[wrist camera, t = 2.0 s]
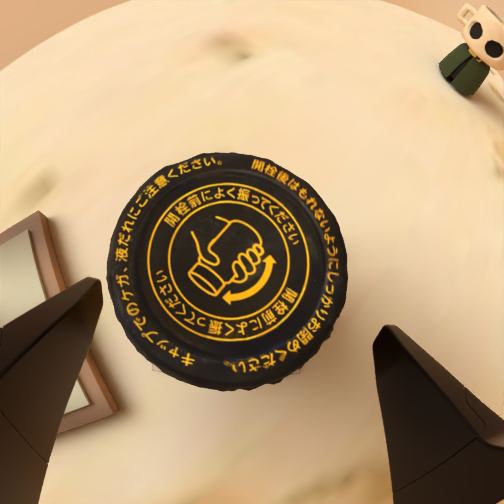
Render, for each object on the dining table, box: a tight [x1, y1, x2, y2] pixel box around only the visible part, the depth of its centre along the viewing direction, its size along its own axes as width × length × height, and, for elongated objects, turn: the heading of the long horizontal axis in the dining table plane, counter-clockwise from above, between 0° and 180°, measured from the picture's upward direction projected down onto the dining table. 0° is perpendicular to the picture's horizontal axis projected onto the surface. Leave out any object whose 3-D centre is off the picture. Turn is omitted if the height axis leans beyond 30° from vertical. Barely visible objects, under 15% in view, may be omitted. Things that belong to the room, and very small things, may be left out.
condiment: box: [106, 152, 348, 391], centre depth 12 cm, size 7×8×12 cm
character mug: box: [439, 3, 504, 96], centre depth 23 cm, size 11×7×13 cm, turn 34°
